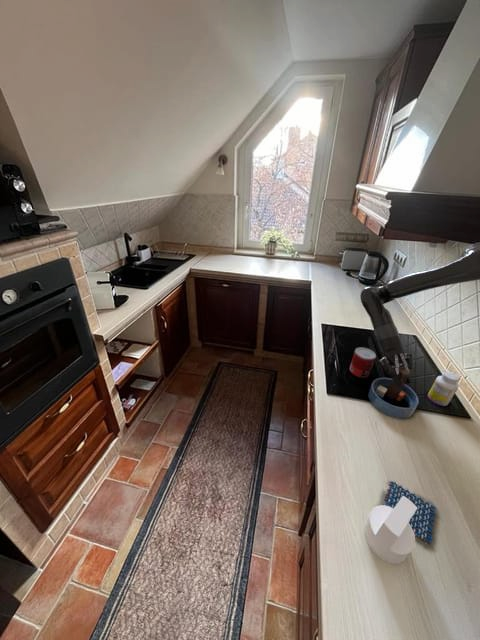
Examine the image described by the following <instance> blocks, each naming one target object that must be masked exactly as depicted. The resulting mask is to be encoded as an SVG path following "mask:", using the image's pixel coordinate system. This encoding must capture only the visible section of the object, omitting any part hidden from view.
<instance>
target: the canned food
mask: <svg viewBox="0 0 480 640" xmlns="http://www.w3.org/2000/svg"><path fill="white" fill-rule="evenodd" d="M376 358H377V355H376V353H375V352H374V350H372V349H370V348H368V347H362V346H361V347H356V348H355V350H354V352H353V356H352V359H351V362H350V365H349V372H350V373H351V374H352V375H354V376H356V377H357V378H361V379H365V378H368V377H369V376H370V374H371V371H372V368H373V365H374V363H375V360H376Z"/></svg>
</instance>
